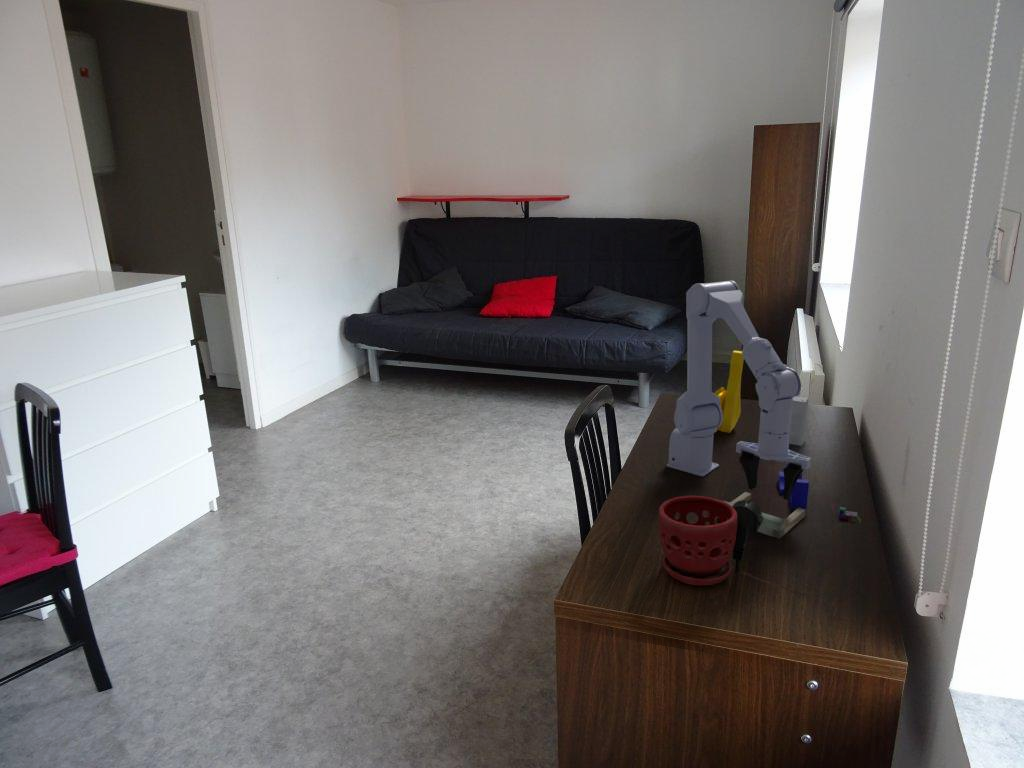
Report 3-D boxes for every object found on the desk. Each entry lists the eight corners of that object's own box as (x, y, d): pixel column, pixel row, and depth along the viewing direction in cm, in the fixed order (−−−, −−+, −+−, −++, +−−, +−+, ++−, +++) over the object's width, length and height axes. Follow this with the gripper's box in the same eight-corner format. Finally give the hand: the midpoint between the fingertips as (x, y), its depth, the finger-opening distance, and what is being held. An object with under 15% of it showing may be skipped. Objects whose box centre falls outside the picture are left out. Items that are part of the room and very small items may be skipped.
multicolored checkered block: (838, 522, 142) (839, 511, 142) (838, 516, 145) (839, 505, 144) (862, 525, 141) (863, 514, 140) (861, 519, 143) (863, 508, 142)
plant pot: (739, 561, 129) (744, 500, 125) (725, 599, 117) (729, 533, 114) (667, 546, 134) (670, 487, 131) (647, 581, 123) (649, 518, 120)
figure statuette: (714, 418, 201) (719, 342, 195) (743, 422, 198) (749, 344, 191) (702, 440, 185) (707, 357, 179) (734, 444, 182) (739, 360, 176)
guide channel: (717, 518, 144) (718, 503, 143) (744, 498, 152) (745, 484, 152) (779, 538, 136) (780, 523, 135) (804, 516, 144) (806, 501, 143)
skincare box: (805, 442, 182) (809, 397, 179) (801, 447, 179) (806, 402, 175) (780, 438, 185) (784, 394, 182) (776, 443, 182) (780, 398, 178)
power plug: (719, 570, 125) (723, 507, 122) (731, 551, 132) (736, 491, 128) (752, 579, 123) (757, 515, 119) (763, 559, 129) (768, 498, 125)
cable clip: (777, 483, 159) (779, 458, 158) (799, 485, 158) (801, 460, 157) (783, 507, 148) (785, 481, 147) (806, 509, 147) (809, 482, 145)
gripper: (730, 427, 143) (726, 489, 147) (803, 443, 133) (796, 510, 137) (746, 418, 148) (742, 478, 152) (817, 433, 138) (811, 497, 142)
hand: (769, 492), depth 145 cm, fingers open, 7 cm apart
